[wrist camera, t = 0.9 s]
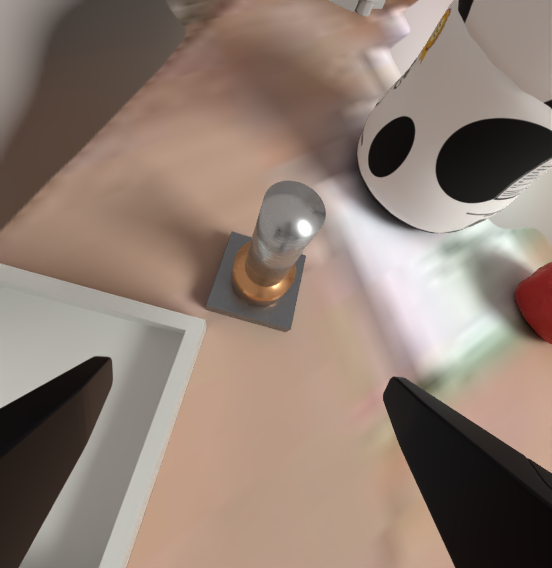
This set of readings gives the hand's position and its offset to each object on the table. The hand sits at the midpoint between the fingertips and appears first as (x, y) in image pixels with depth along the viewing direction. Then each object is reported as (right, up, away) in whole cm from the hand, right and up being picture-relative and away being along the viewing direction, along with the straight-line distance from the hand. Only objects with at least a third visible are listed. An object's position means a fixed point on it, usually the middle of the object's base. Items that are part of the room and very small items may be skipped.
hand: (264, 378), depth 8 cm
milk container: (+17, +16, +24) cm, 34 cm away
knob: (-1, +4, +14) cm, 14 cm away
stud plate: (-1, +3, +15) cm, 15 cm away
